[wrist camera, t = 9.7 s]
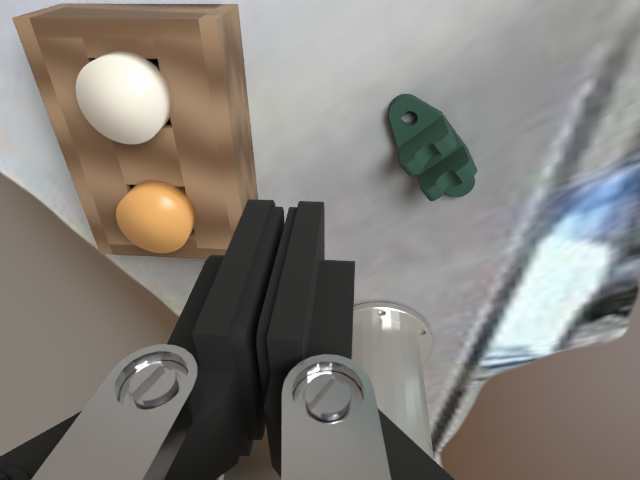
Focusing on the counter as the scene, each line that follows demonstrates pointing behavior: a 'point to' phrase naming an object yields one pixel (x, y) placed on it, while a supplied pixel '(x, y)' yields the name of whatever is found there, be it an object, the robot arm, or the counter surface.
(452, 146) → the mount
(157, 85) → the cream button
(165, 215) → the orange button
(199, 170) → the wooden peg board
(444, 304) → the counter surface
